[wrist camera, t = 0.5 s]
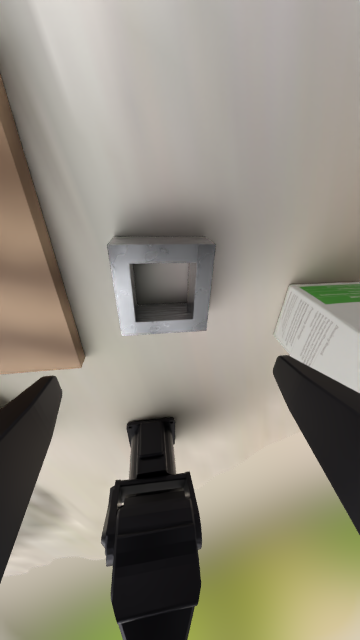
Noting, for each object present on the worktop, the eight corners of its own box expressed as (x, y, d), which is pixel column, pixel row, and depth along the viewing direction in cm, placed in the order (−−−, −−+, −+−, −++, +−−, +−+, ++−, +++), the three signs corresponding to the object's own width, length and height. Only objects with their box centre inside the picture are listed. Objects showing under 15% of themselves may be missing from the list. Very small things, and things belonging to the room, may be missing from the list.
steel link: (198, 313, 20) (206, 330, 17) (125, 316, 19) (121, 335, 16) (204, 236, 16) (215, 244, 13) (113, 236, 15) (106, 244, 12)
